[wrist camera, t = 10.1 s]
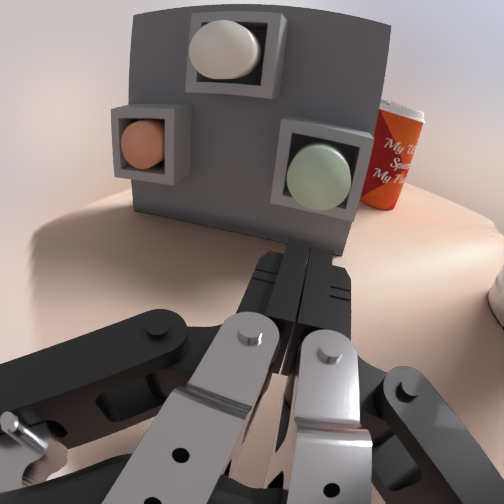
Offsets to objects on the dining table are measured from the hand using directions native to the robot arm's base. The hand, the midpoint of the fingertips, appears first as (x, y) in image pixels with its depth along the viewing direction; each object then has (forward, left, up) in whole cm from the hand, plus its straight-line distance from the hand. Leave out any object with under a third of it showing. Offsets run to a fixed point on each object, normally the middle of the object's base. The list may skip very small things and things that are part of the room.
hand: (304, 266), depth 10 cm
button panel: (+13, -9, -8) cm, 18 cm away
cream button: (+11, -5, +5) cm, 14 cm away
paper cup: (+8, -31, -8) cm, 33 cm away
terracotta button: (+18, -4, -2) cm, 19 cm away
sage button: (+5, -9, -2) cm, 11 cm away
